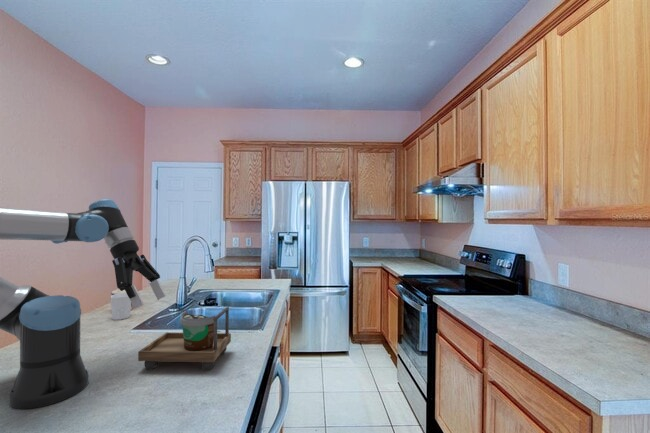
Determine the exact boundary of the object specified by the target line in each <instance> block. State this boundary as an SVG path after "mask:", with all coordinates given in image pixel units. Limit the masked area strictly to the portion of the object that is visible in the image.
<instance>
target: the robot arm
mask: <svg viewBox="0 0 650 433" xmlns="http://www.w3.org/2000/svg"><path fill="white" fill-rule="evenodd" d="M124 218H125V217H124V216H123V214H122V211H121V209H120V208H119V206H118V204H117V203H116V202H115V200H113V199H111V198H103V199H99V200H97V201H93V202H92V203H90V204H89V206H88V210H86V211H81V212H77V213H76V212H74V213H73V212H64V211H63V212H60V211H49V210H38V209H37V210H36V209H25V208H12V207H0V240H1V241H2V240H3V241H4V240H5V241H8V240H10V241H12V240H13V241H16V240H17V241H51V242H52V243H53V244H57V245H58V244H61V243H68V242H84V243H94V242H95V243H96V242H99V241H101V240H103V239H104V243H105V244H106V245H107V248H109V252H110V254H111V255H112V256H111V257H112V258H113V259H112V260H111V261H112V264H113V267H114V274H115V281H116V287H117V288H116V289H120V290H121V291H123V290H125V291H126V293H127V295H128V297H129V299H130V301H131V303H132V305H133V309H134V310H136V309H138V308H140V307H142V306H144V305H145V303H144V301H143V299H142V297H141V295H140V293H139V291H138V289H137V287H136V285H135V284H133V277H134V275H133V273H134V271H135V272H138V273H139V274H140V275H141V276H143V277H144V278H145V279H146V280H148V281H149V283H148V284H149V286H150V288H151V289H152V291H153V293H154V295H155V298H156V299H157V300H158V301H159V300H161V299H163V298H165V297H166V296H167V295H166V293H165V290H164V289H163V286H162V285H161V283H160V281H159V279H160V278H161V275H160V274H159V272H158V271H157V270H156V269H155V267H153V265H152V264H151V263H150V261H148V259H147V258H146V257H145V255H144V254H141V255H138V251H139V250H140V247H139V245H138V244H137V242H136V240H135V237H134V236H133V233H132V231H131V230H130V228H129V226H128V225H127V222H126V220H125V219H124ZM81 316H82V309H81V302H80V301H79V299H77V298H76V297H74V296H72V295H64V294H63V295H62V294H60V295H59V294H58V295H50V294H46V293H45V292H43V291H42V290H40V289H37V288H35V287H34V286H32V285H31V284H24V285H17V284H15V283H13V282H11V281H9V280H8V279H5V278H3V276H0V330H1V331H5V332H7V333H9V334H11V335H13V336H14V337H16V338H17V340H19V370H18V373H17V375H16V378H15V380H14V383H13V387H12V389H11V391H10V393H9V405H10V406H11V408H14V409H21V410H26V409H28V410H29V409H35V408H40V407H41V408H42V407H46V406H50V405H53V404H56V403H59V402H62V401H64V400H66V399H68V398H71V397H73V396H74V395H77V394H78V393H80V392H81V391H82V390H84V389H85V388H86V387H87V386H88V385H89V372H88V370H87V369H86V367H85V366H86V365H85V364H84V361H83V359H82V356H81Z"/></svg>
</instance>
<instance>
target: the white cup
mask: <svg viewBox="0 0 650 433" xmlns="http://www.w3.org/2000/svg"><path fill="white" fill-rule="evenodd" d="M110 309H111V310H110V311H111V319H112V320H114V321H115V320H117V321H118V320H121V321H122V320H125V319H128V318H130V317H131V301H130V299H129V297H128V295H127V293H119V294H114V295H110Z"/></svg>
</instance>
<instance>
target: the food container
mask: <svg viewBox="0 0 650 433" xmlns="http://www.w3.org/2000/svg"><path fill="white" fill-rule="evenodd" d="M214 317H216V315H215V314H214V315H211V316H206V315H203V314H190V313H189V312H188V310H187V311H185V312H183V313H182V314H181V316H180V319H179V324H180V325H182V333H183V339H184V348H185V349H186V350H188V351H202V350H206V349H209V348H212V347H213V339H214V320H213V318H214Z"/></svg>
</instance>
